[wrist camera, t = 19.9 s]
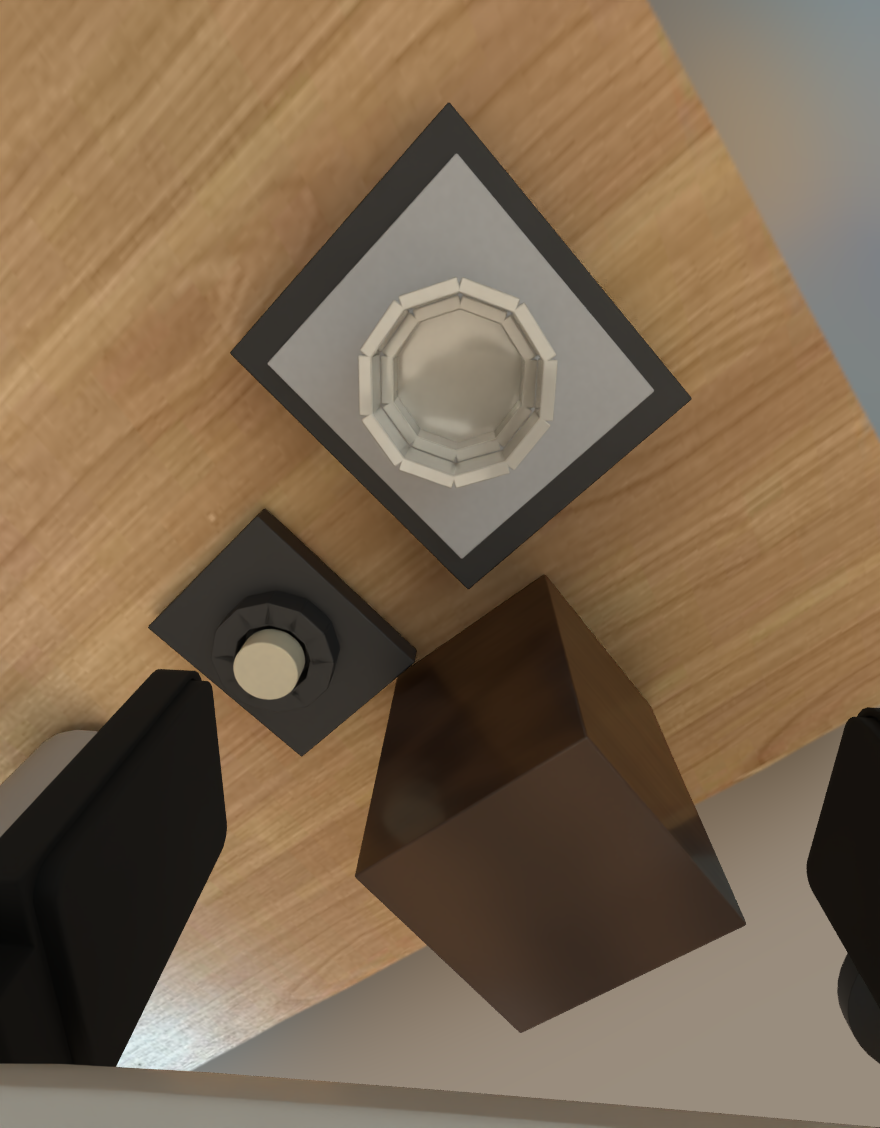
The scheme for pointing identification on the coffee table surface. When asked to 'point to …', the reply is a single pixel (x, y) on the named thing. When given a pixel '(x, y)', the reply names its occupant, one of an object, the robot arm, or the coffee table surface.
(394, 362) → the bowl
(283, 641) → the button
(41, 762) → the can
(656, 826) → the stand
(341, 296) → the scale
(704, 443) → the coffee table surface
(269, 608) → the pad
